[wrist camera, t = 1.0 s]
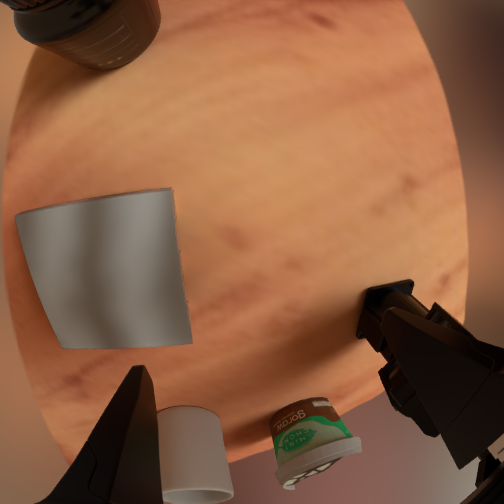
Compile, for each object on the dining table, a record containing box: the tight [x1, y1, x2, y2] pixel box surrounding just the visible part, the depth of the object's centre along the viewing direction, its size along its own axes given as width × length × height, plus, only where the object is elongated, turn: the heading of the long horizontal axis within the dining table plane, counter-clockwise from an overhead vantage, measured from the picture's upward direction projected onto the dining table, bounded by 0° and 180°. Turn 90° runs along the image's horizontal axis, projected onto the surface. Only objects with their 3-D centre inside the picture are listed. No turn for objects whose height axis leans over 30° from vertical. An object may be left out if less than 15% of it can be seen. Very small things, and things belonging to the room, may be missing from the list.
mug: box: [157, 406, 234, 504], centre depth 25 cm, size 12×8×11 cm
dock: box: [15, 187, 193, 349], centre depth 18 cm, size 12×12×2 cm
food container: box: [270, 397, 362, 490], centre depth 28 cm, size 12×6×10 cm, turn 140°
